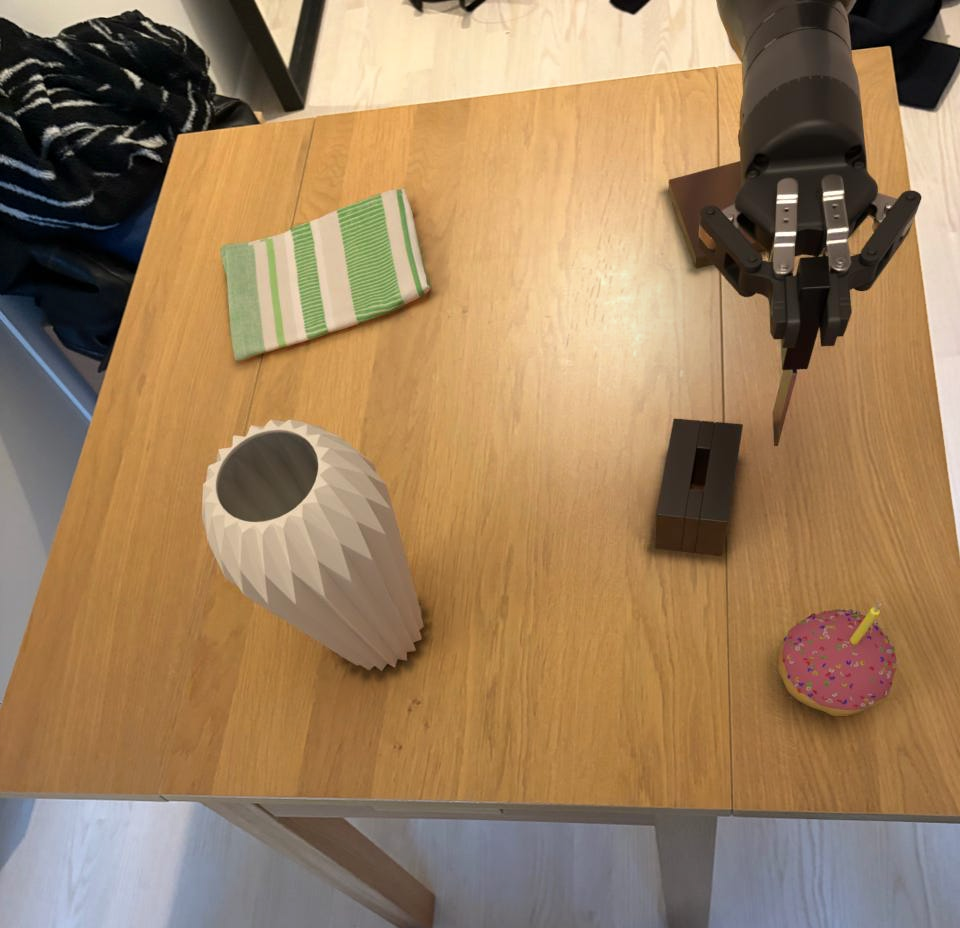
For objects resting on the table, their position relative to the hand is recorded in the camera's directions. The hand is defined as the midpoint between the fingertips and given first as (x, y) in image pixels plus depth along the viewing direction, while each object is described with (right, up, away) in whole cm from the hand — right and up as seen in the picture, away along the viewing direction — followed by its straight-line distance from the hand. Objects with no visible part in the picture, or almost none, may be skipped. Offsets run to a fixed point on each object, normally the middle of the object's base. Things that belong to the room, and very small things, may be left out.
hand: (811, 336), depth 48 cm
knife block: (+1, -5, +28) cm, 29 cm away
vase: (-29, -17, +29) cm, 44 cm away
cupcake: (+9, -21, +20) cm, 31 cm away
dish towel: (-37, +24, +48) cm, 65 cm away
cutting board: (+10, +29, +40) cm, 51 cm away
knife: (+2, -2, +13) cm, 13 cm away
